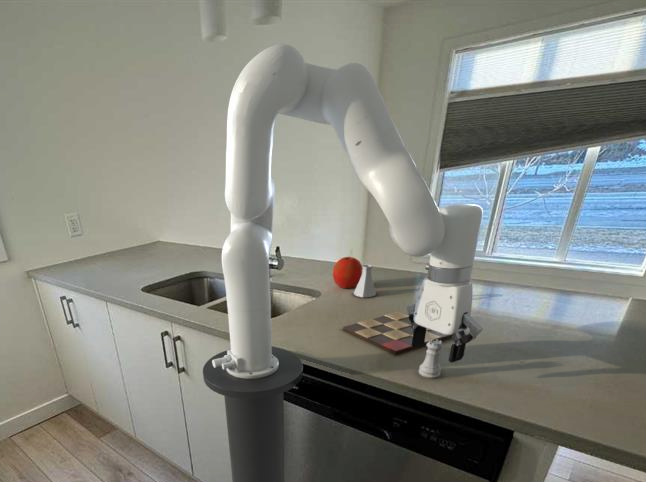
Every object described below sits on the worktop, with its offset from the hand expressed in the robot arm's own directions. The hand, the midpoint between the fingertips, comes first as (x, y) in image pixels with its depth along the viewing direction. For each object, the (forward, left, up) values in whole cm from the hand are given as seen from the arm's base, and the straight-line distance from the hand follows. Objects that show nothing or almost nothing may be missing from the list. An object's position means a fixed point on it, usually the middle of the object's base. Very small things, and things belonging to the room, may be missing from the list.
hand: (435, 352), depth 87 cm
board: (+11, +21, -5) cm, 24 cm away
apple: (+28, +63, -6) cm, 69 cm away
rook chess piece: (0, 0, -6) cm, 6 cm away
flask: (+27, +52, -6) cm, 59 cm away
